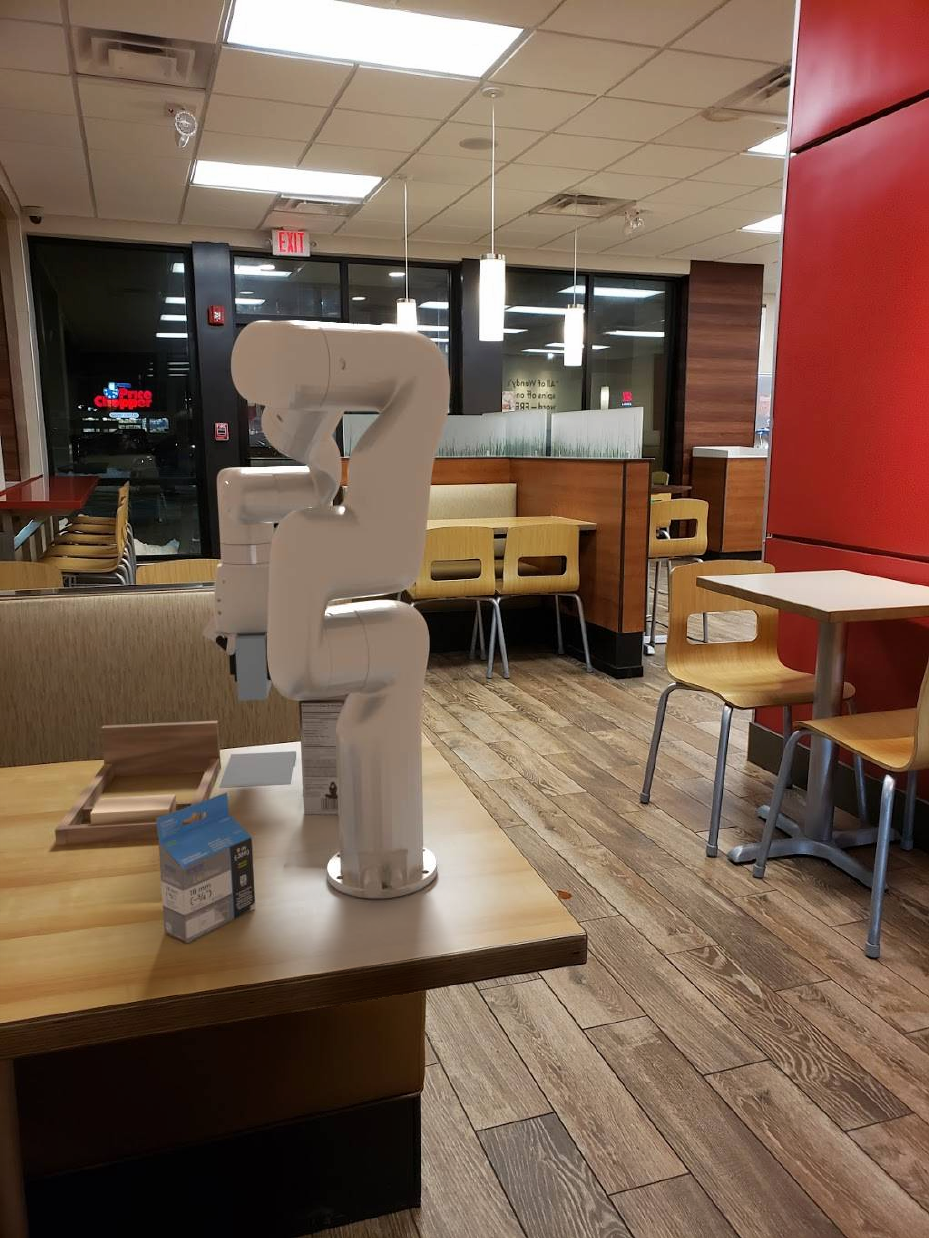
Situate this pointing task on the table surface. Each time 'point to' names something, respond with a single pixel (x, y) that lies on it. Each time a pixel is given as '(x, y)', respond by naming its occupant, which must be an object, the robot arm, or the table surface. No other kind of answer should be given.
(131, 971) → the table surface
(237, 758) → the mat
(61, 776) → the table surface
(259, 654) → the pale blue upright prism
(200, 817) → the rack
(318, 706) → the coffee box
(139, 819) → the slab top
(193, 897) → the label tape cartridge
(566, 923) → the table surface
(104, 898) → the table surface
